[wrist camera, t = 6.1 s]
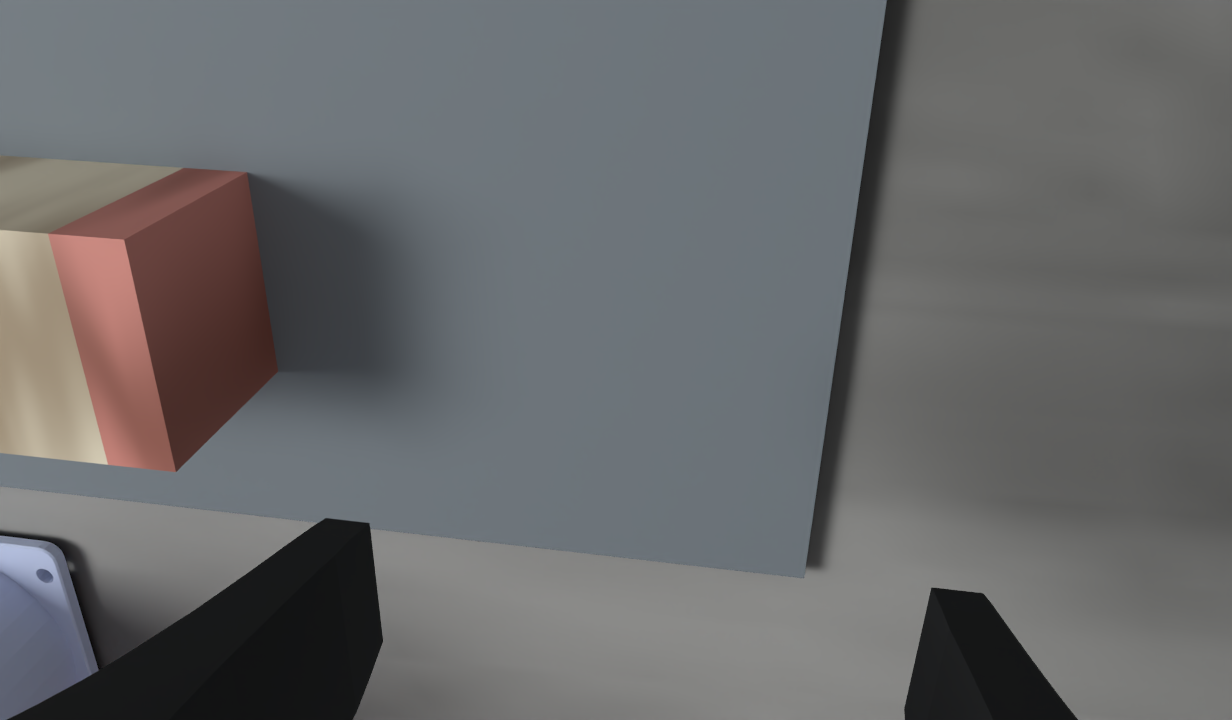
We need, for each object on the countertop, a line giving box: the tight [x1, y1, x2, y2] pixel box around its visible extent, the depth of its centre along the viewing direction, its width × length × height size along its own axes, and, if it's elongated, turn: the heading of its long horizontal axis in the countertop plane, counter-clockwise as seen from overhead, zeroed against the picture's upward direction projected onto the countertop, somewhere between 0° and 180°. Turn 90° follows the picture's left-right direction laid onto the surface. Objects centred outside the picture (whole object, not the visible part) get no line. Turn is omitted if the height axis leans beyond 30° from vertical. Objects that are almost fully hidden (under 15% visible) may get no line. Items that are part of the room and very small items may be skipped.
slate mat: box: [0, 0, 887, 578], centre depth 22 cm, size 16×24×1 cm, turn 89°
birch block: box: [0, 155, 278, 472], centre depth 21 cm, size 5×4×9 cm
